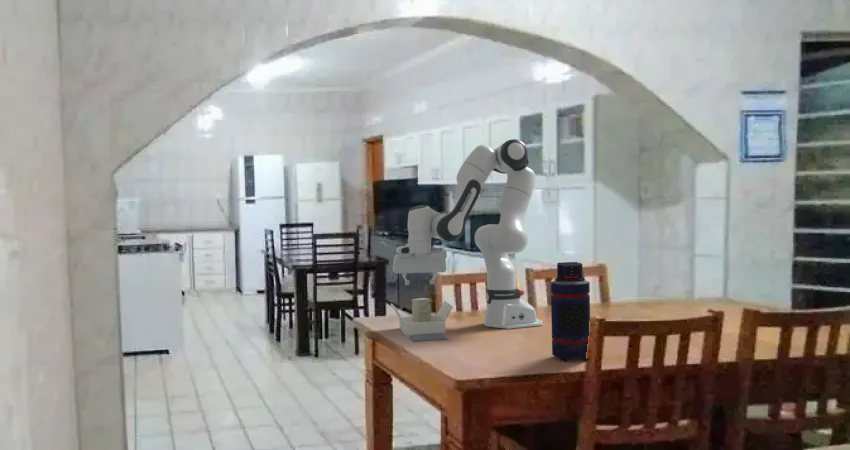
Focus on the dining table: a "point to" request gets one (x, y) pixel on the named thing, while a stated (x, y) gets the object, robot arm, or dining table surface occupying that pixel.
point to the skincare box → (421, 310)
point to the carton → (425, 327)
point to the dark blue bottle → (570, 312)
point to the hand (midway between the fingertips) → (419, 284)
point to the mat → (428, 337)
